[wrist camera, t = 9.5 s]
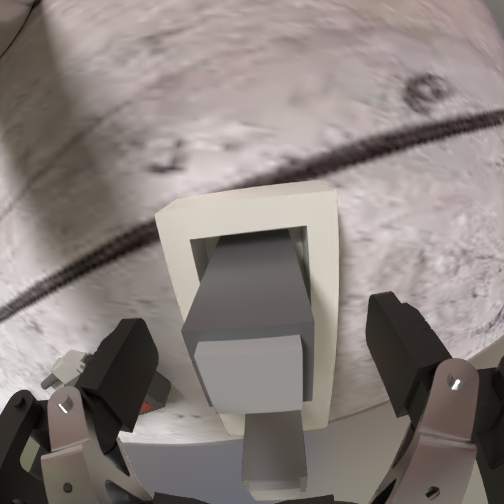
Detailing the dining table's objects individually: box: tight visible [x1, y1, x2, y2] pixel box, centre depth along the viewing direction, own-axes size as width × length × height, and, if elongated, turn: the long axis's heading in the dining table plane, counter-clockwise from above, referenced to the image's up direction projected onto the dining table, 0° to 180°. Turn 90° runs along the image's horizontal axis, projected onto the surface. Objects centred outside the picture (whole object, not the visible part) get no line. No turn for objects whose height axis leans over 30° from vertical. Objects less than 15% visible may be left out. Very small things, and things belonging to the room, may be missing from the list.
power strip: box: [154, 180, 339, 501], centre depth 13 cm, size 18×8×10 cm, turn 8°
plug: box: [181, 229, 315, 414], centre depth 11 cm, size 4×4×9 cm
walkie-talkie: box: [41, 350, 171, 415], centre depth 20 cm, size 9×4×20 cm
